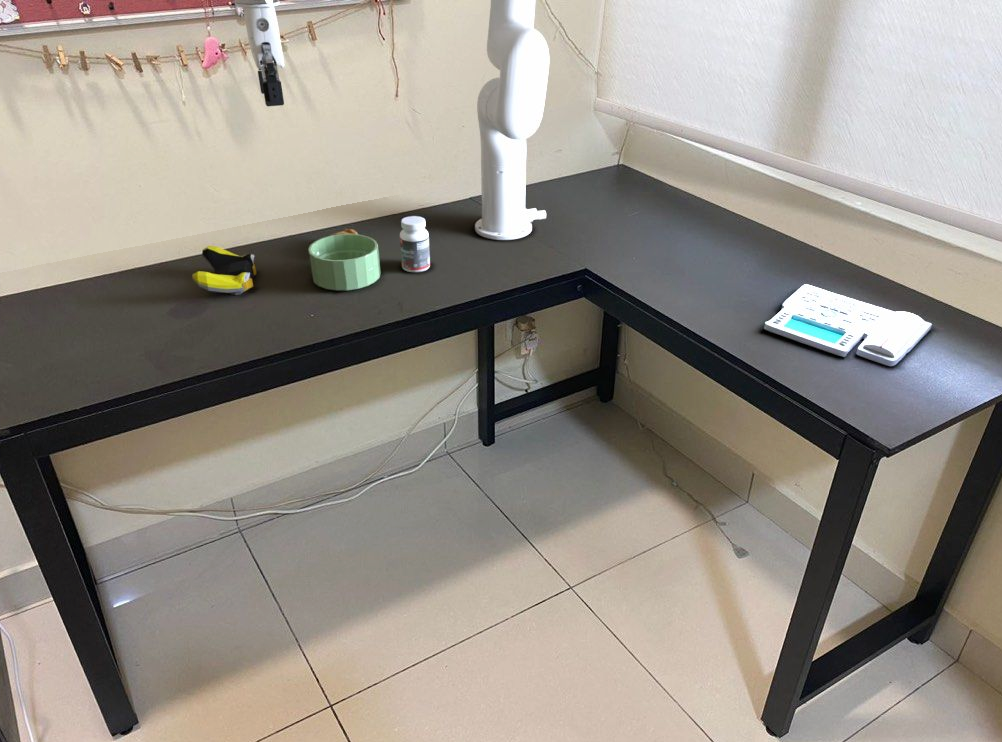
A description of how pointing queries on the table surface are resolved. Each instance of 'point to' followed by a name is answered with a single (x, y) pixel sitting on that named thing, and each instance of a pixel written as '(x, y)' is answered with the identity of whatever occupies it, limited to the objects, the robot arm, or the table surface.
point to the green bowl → (344, 261)
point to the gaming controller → (226, 272)
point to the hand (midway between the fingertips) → (272, 99)
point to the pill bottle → (414, 244)
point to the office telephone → (847, 325)
